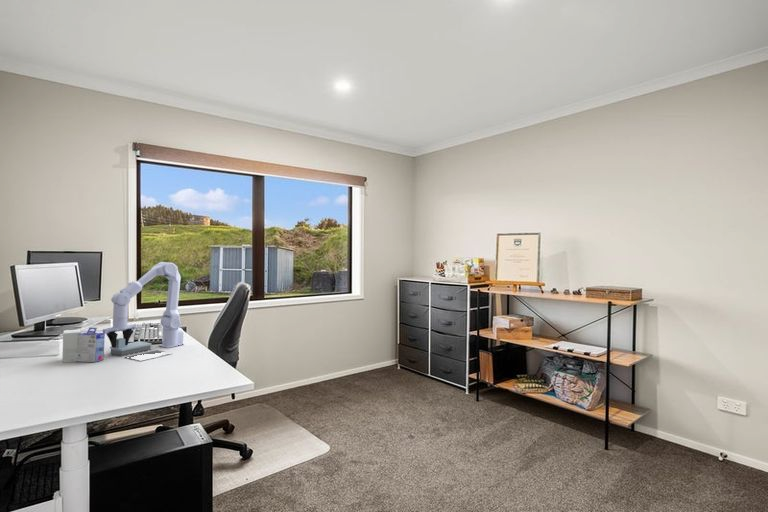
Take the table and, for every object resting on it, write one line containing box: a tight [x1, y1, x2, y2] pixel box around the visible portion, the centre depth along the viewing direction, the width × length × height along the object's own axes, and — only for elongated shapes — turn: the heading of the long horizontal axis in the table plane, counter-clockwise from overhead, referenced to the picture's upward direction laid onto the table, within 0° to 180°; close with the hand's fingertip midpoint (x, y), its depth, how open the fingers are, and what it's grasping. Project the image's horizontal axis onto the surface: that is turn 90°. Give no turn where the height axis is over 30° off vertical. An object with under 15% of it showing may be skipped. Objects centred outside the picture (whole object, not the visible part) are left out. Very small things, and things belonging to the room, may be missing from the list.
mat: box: [124, 349, 165, 359], centre depth 192 cm, size 16×12×1 cm
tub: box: [110, 345, 152, 357], centre depth 199 cm, size 14×9×2 cm, turn 153°
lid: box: [109, 337, 153, 351], centre depth 199 cm, size 15×10×5 cm, turn 153°
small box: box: [62, 328, 82, 364], centre depth 182 cm, size 8×6×13 cm
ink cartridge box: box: [76, 327, 106, 363], centre depth 182 cm, size 10×6×14 cm, turn 87°
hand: (119, 346), depth 194 cm, fingers open, 5 cm apart
